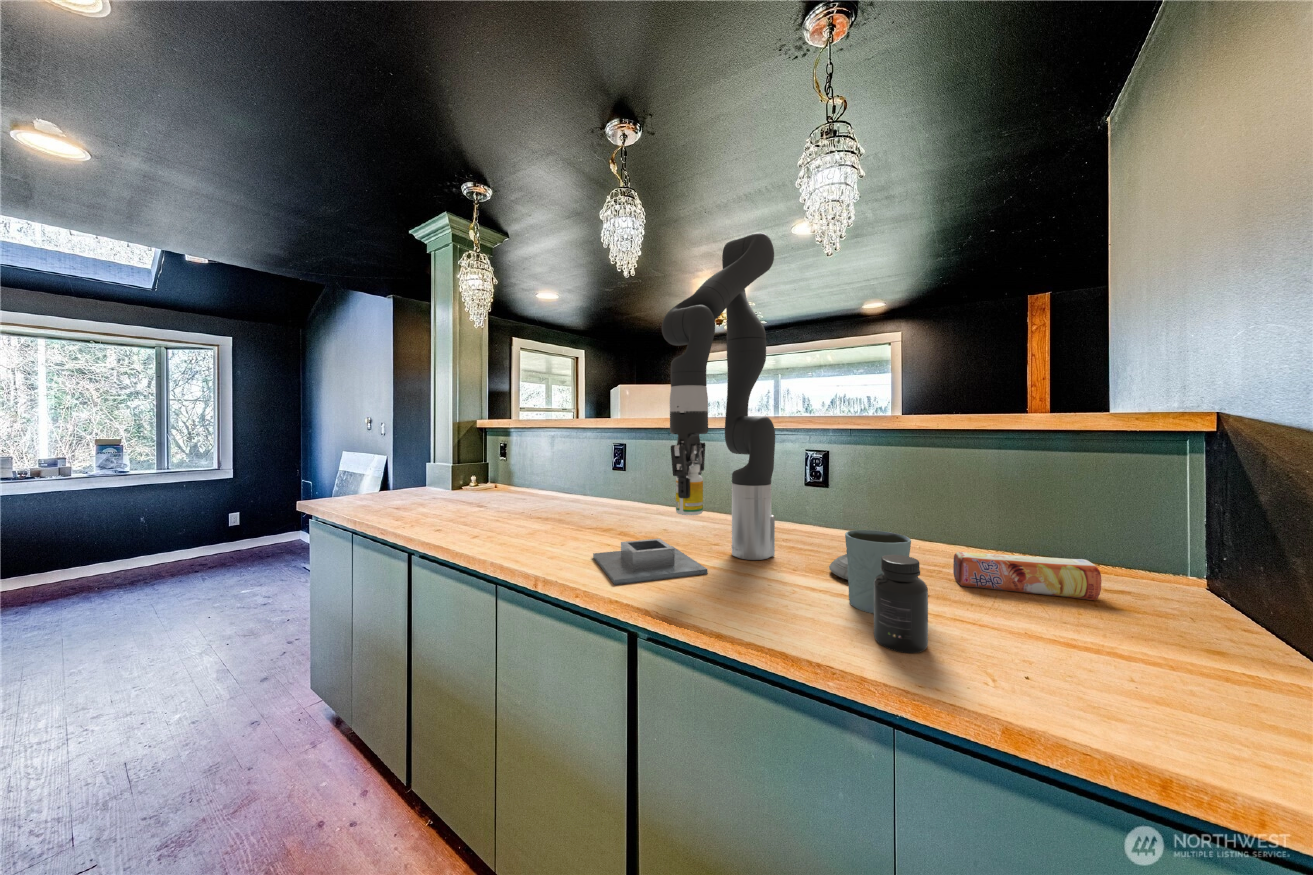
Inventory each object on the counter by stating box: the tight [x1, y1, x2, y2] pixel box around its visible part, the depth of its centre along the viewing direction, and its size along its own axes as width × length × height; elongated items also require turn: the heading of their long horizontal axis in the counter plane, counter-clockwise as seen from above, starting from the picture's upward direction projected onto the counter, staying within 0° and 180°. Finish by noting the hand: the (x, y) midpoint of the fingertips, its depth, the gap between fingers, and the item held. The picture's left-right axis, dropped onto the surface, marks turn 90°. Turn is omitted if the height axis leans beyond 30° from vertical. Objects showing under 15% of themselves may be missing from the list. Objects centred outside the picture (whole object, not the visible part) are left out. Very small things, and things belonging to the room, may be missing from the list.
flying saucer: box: [828, 553, 849, 581], centre depth 93 cm, size 15×15×6 cm
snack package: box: [952, 551, 1102, 601], centre depth 86 cm, size 21×7×7 cm, turn 68°
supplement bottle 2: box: [873, 555, 929, 654], centre depth 65 cm, size 7×7×12 cm
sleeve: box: [592, 538, 709, 586], centre depth 101 cm, size 20×20×4 cm
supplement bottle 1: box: [675, 464, 704, 516], centre depth 90 cm, size 5×5×10 cm
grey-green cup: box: [844, 529, 912, 615], centre depth 79 cm, size 10×10×12 cm
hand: (689, 495), depth 90 cm, fingers closed on supplement bottle 1, 5 cm apart
